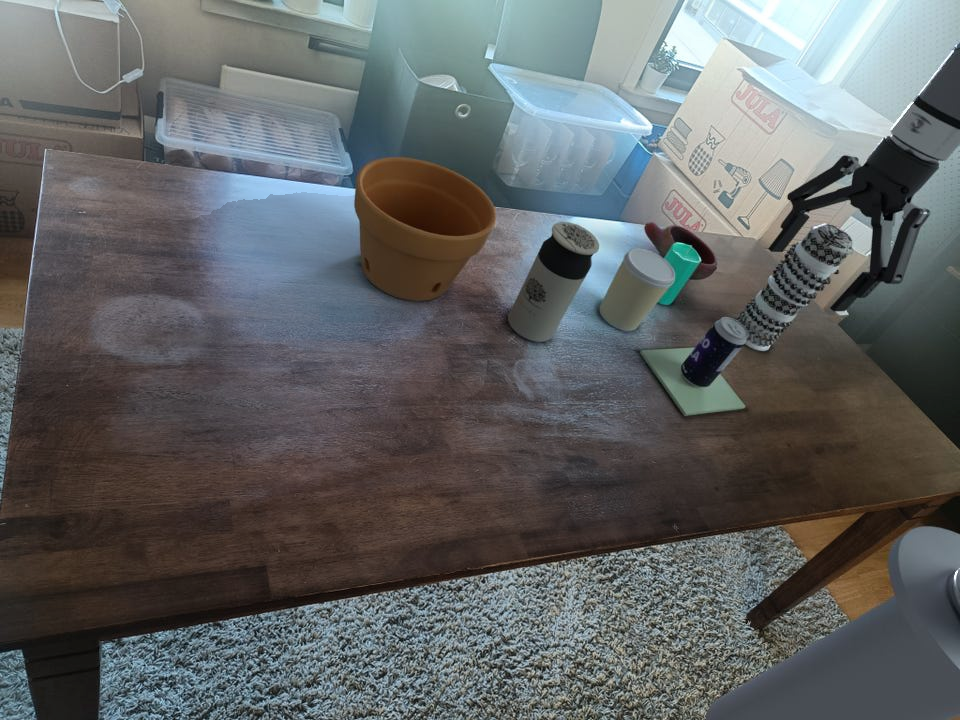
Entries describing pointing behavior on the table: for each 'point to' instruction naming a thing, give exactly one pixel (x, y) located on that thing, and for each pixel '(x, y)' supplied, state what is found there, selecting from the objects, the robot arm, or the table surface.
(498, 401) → the table surface
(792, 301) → the decorative candle
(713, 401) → the mat
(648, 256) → the cream lidded canister
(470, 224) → the flower pot
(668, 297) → the candle
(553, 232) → the travel mug
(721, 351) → the beverage can
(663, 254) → the bowl
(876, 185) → the robot arm
